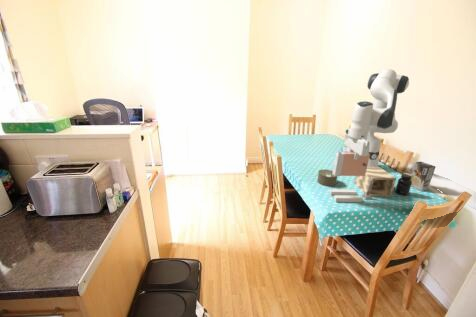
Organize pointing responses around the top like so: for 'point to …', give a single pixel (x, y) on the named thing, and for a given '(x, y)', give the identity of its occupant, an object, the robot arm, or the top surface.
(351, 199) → the door stand
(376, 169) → the cabinet
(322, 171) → the can
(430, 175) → the coffee box
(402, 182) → the supplement bottle
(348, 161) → the door
